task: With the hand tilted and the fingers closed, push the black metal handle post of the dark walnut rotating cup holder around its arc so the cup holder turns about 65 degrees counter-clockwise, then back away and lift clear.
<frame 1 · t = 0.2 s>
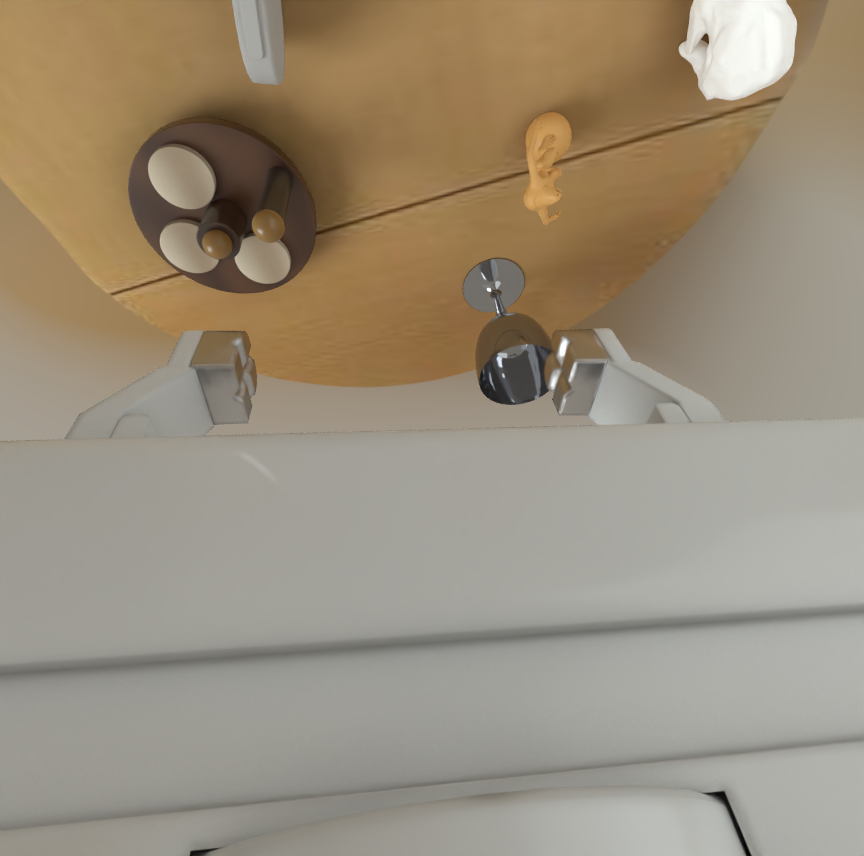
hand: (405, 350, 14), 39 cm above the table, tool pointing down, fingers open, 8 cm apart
wine glass: (493, 285, 58), on the table
cup holder: (218, 242, 44), point 7 cm above the table, hinge at 0.0°
figurine: (531, 134, 46), on the table
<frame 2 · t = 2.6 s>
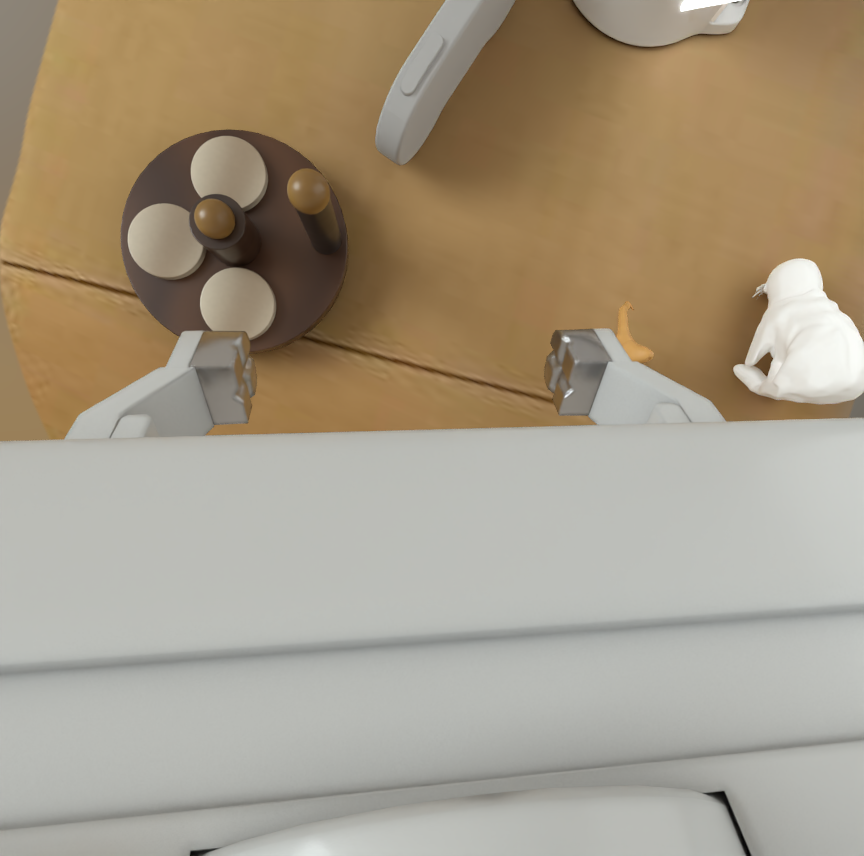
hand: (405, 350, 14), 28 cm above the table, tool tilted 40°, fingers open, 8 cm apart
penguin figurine: (764, 337, 44), on the table
cup holder: (216, 220, 33), point 7 cm above the table, hinge at 0.0°
figurine: (584, 370, 43), on the table
game controller: (452, 77, 41), on the table
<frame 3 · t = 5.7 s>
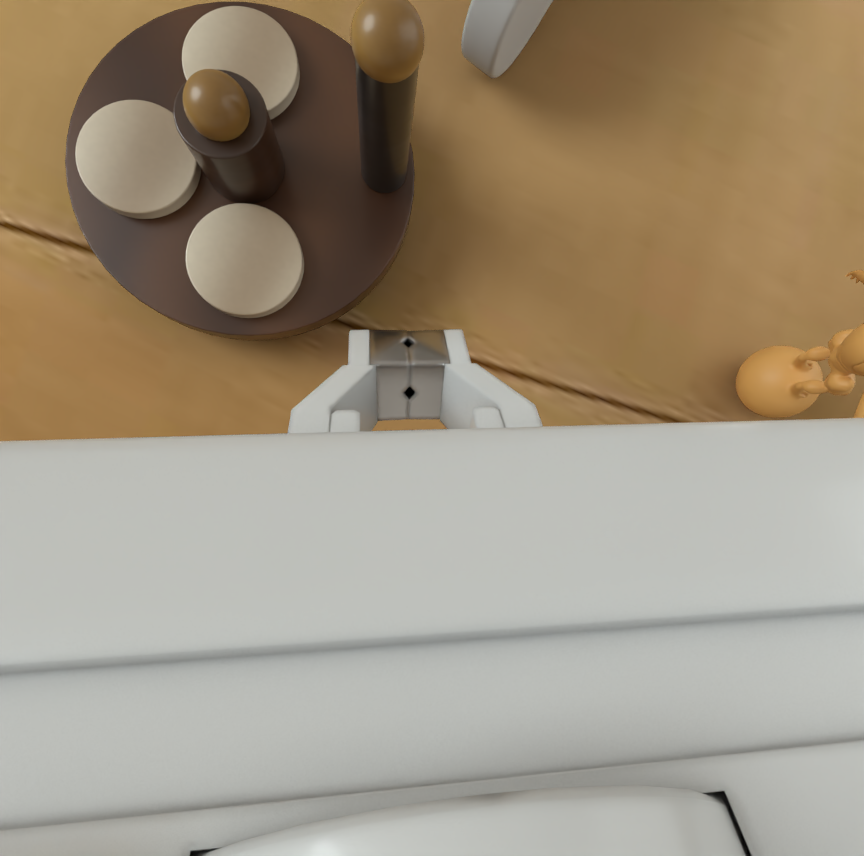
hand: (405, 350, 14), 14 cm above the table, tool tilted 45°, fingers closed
cup holder: (219, 111, 20), point 7 cm above the table, hinge at 0.0°
figurine: (732, 383, 30), on the table
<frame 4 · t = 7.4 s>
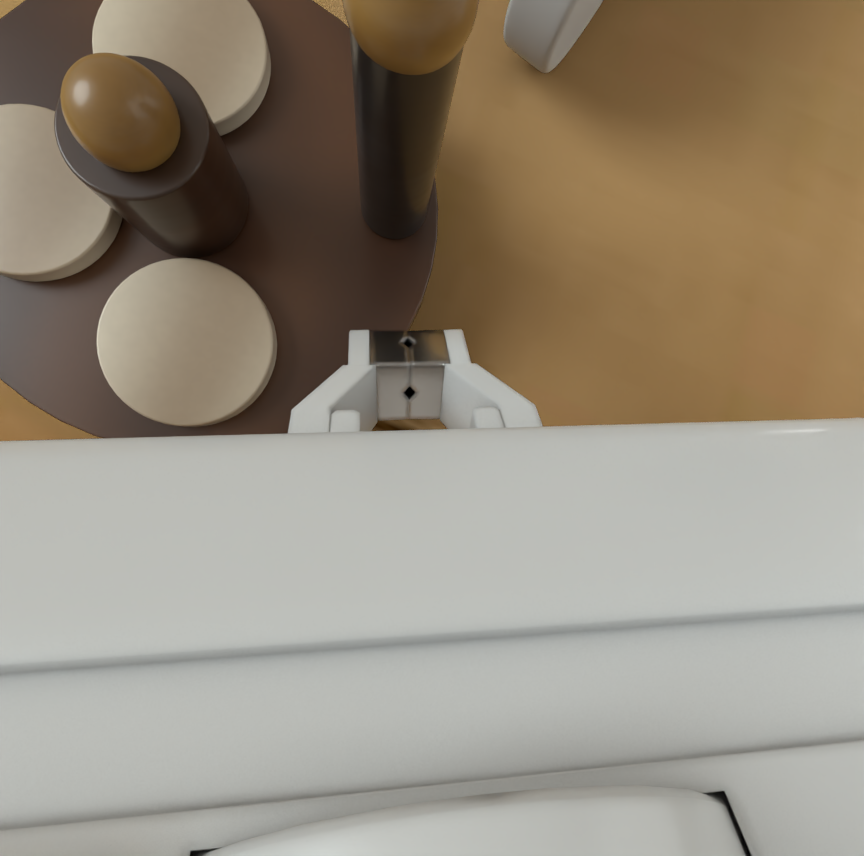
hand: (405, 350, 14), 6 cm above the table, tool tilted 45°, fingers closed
cup holder: (129, 123, 12), point 7 cm above the table, hinge at 0.0°
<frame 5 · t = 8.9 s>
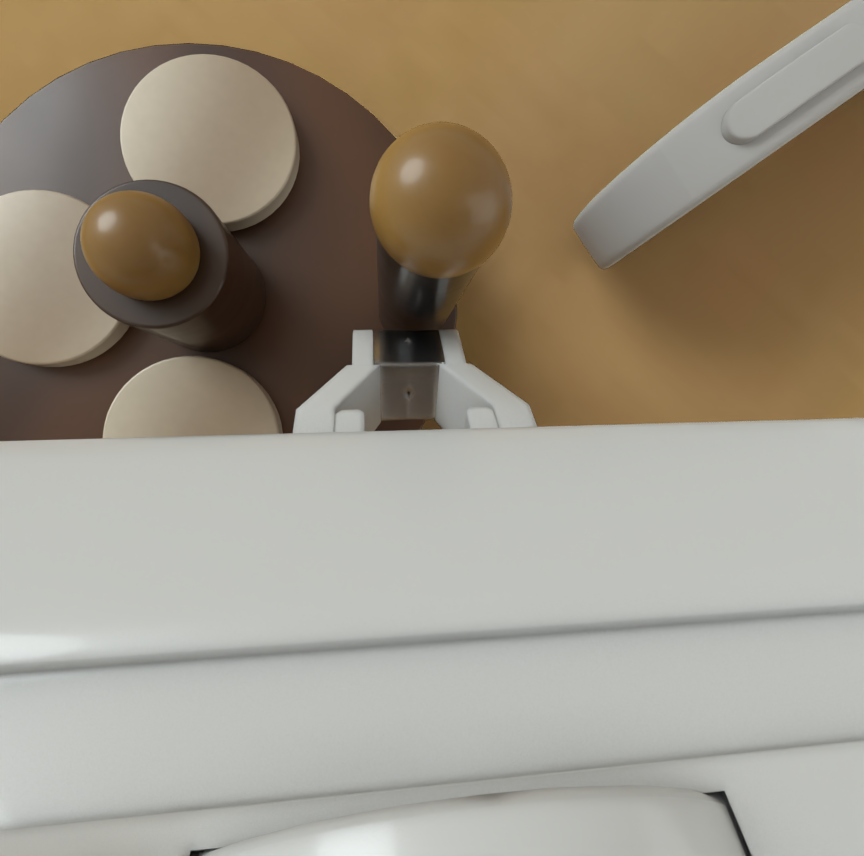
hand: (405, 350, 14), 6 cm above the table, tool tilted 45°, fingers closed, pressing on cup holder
cup holder: (149, 251, 12), point 7 cm above the table, hinge at 15.4°, touching gripper
game controller: (737, 147, 21), on the table
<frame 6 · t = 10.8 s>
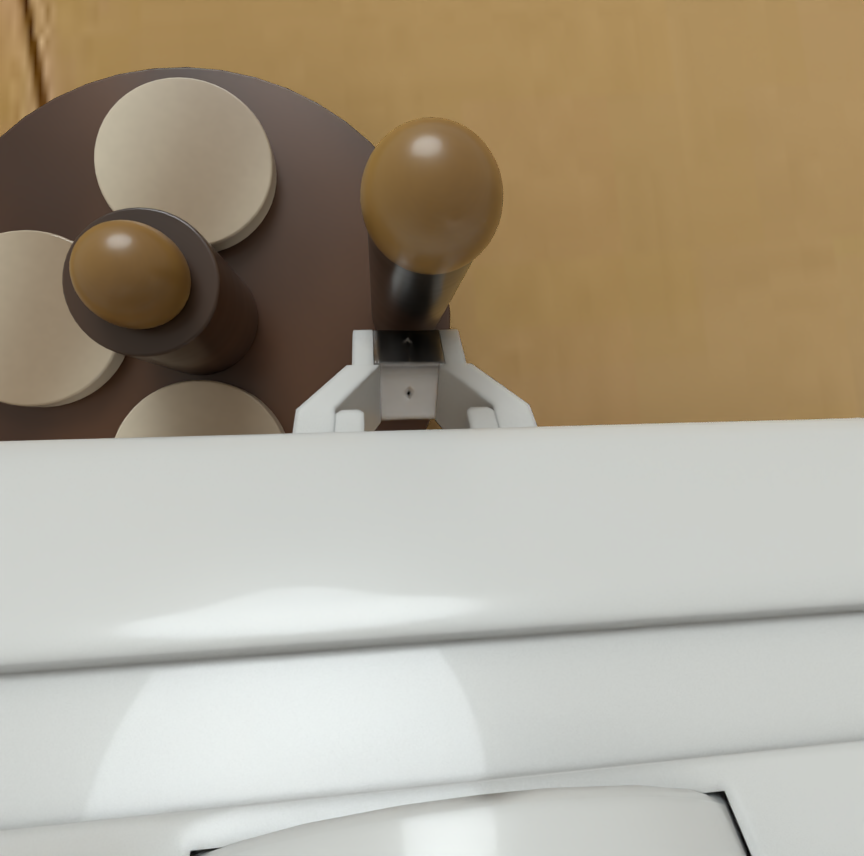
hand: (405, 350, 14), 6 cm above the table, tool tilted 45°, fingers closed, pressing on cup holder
cup holder: (139, 280, 12), point 7 cm above the table, hinge at 67.0°, touching gripper
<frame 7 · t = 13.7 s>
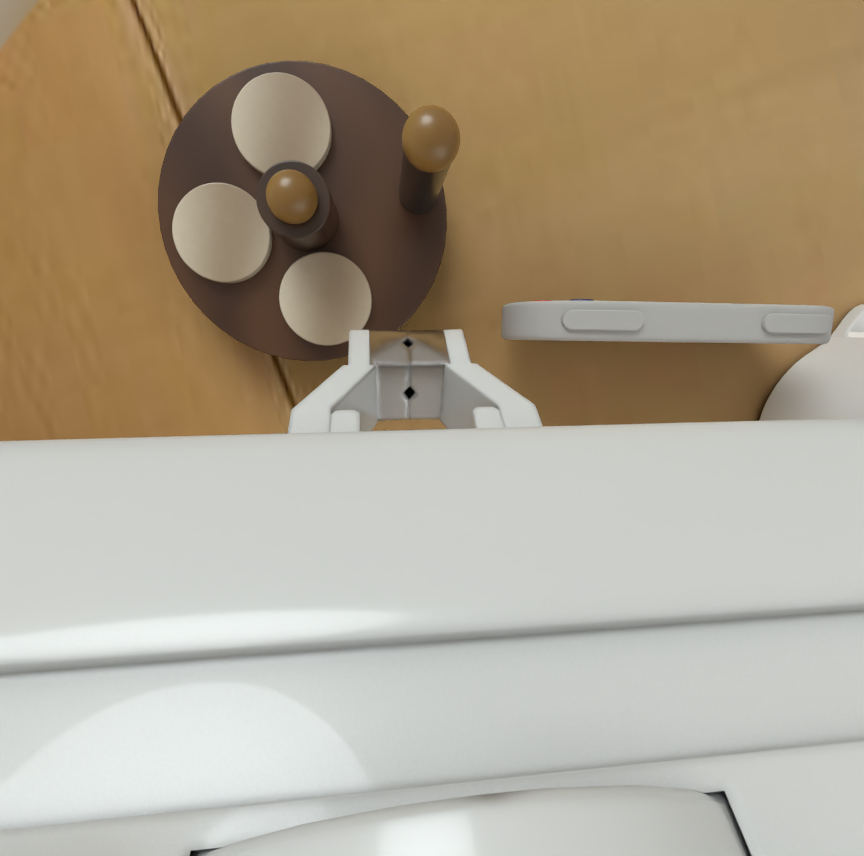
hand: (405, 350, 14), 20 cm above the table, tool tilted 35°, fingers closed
cup holder: (293, 199, 25), point 7 cm above the table, hinge at 67.3°
game controller: (628, 325, 35), on the table
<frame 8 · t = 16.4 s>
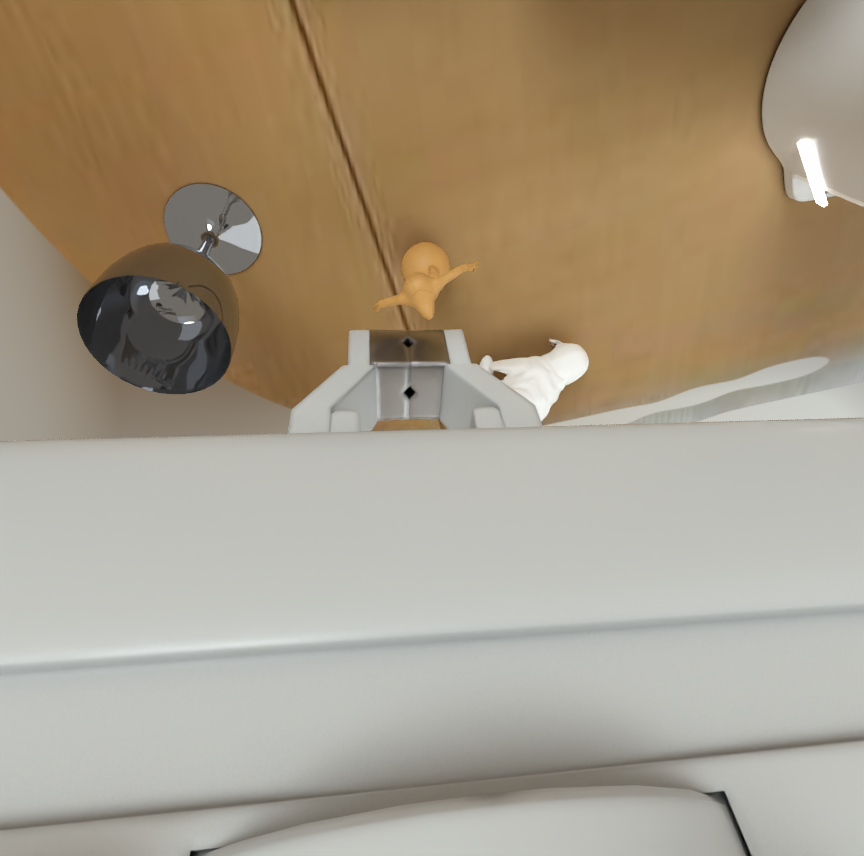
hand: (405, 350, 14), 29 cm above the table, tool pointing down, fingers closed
wine glass: (214, 230, 40), on the table
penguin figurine: (522, 361, 51), on the table
figurine: (418, 245, 42), on the table
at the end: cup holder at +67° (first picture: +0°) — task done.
